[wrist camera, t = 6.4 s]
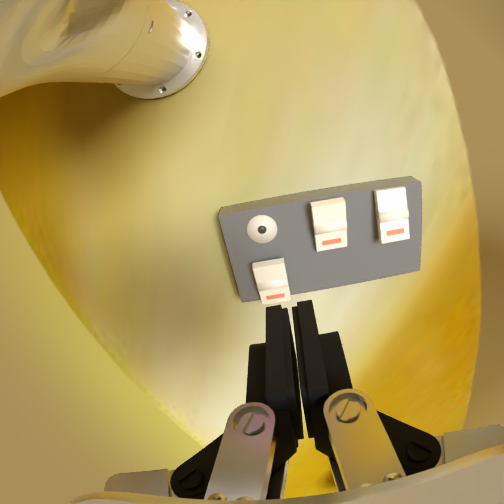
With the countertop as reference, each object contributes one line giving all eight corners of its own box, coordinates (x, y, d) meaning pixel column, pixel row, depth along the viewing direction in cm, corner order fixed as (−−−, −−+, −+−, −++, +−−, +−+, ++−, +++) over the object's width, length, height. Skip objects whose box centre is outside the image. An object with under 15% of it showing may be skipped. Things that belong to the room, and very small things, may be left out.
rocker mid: (309, 200, 33) (312, 208, 32) (342, 195, 32) (346, 203, 31) (315, 244, 37) (317, 253, 35) (344, 239, 36) (347, 248, 35)
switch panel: (221, 207, 38) (217, 216, 35) (410, 176, 35) (422, 182, 32) (243, 289, 43) (241, 303, 40) (411, 259, 40) (420, 271, 37)
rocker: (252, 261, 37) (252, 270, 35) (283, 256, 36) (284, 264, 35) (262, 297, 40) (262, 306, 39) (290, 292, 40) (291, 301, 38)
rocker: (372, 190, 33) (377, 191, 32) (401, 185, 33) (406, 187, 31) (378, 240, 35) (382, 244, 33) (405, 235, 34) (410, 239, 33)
